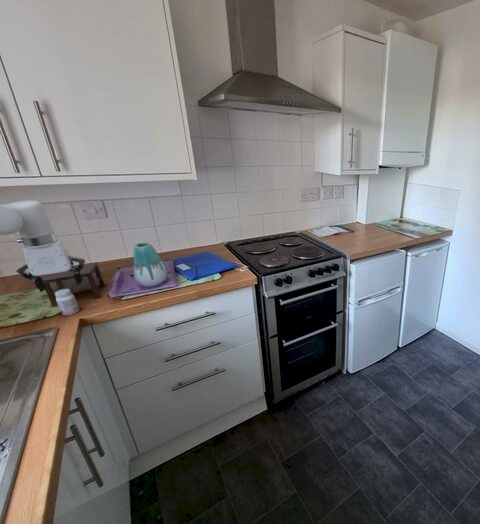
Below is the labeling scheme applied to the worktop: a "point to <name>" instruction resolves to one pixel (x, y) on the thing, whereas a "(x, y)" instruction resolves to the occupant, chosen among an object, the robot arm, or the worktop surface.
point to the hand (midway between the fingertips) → (61, 286)
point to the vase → (148, 266)
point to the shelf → (86, 284)
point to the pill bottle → (66, 302)
